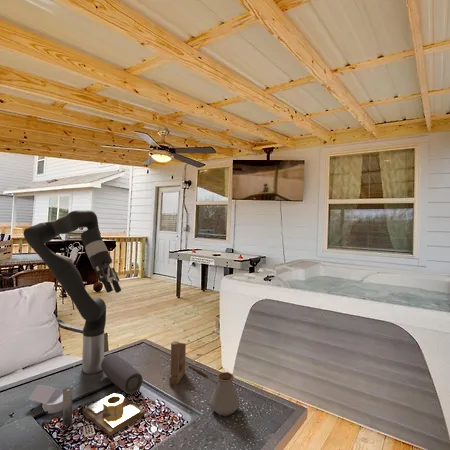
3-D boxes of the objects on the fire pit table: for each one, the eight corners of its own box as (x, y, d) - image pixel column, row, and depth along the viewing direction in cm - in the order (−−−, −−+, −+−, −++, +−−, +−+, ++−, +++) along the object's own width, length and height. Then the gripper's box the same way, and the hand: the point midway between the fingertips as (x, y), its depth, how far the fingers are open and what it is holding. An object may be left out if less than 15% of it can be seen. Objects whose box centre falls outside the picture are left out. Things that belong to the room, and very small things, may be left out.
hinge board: (82, 413, 114) (82, 409, 114) (116, 396, 125) (116, 392, 125) (109, 436, 103) (109, 431, 103) (144, 415, 114) (144, 411, 114)
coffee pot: (241, 402, 123) (243, 365, 122) (236, 421, 112) (237, 381, 111) (191, 393, 128) (192, 358, 127) (181, 411, 117) (181, 372, 116)
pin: (61, 423, 108) (61, 390, 108) (69, 419, 111) (69, 386, 110) (65, 427, 106) (65, 393, 106) (73, 422, 109) (74, 389, 108)
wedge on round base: (28, 408, 116) (55, 415, 112) (28, 390, 116) (55, 397, 112) (48, 394, 125) (74, 401, 121) (48, 378, 124) (74, 384, 121)
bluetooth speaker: (144, 391, 128) (144, 368, 128) (122, 401, 122) (123, 376, 121) (119, 370, 145) (119, 349, 144) (99, 377, 138) (99, 355, 138)
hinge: (87, 408, 115) (87, 397, 114) (114, 394, 123) (114, 384, 123) (113, 428, 104) (113, 417, 104) (140, 412, 113) (140, 402, 113)
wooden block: (185, 373, 144) (186, 335, 143) (176, 385, 133) (177, 345, 133) (177, 372, 145) (178, 334, 144) (168, 384, 134) (169, 344, 133)
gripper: (97, 261, 128) (113, 296, 124) (80, 256, 114) (97, 296, 110) (114, 252, 128) (129, 287, 125) (99, 247, 114) (116, 286, 111)
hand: (114, 291), depth 117 cm, fingers open, 8 cm apart
